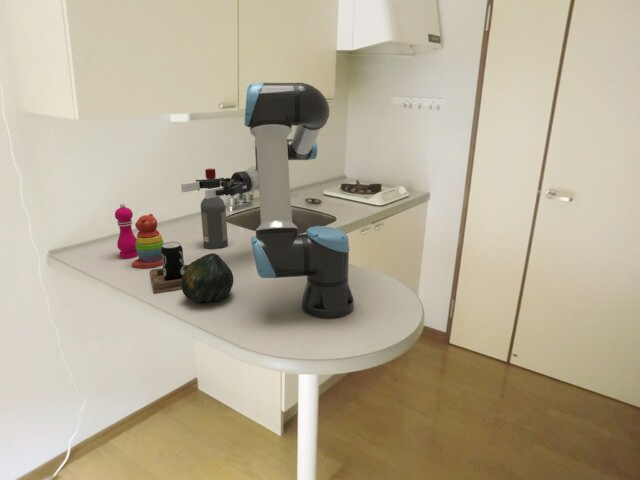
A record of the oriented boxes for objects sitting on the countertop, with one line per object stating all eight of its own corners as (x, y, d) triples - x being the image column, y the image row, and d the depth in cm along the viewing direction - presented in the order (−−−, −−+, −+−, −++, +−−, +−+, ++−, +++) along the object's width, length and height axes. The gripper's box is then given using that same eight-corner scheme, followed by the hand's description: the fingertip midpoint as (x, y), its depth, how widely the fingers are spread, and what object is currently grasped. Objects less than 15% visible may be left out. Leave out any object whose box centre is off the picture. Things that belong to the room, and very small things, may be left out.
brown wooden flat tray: (206, 285, 155) (206, 277, 154) (154, 293, 149) (153, 285, 148) (197, 266, 171) (197, 258, 170) (150, 272, 165) (149, 265, 164)
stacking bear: (148, 256, 180) (142, 210, 174) (172, 259, 177) (167, 212, 171) (129, 267, 170) (122, 218, 164) (154, 270, 167) (148, 220, 161)
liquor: (226, 240, 197) (221, 166, 187) (228, 247, 189) (223, 171, 179) (203, 242, 195) (197, 167, 185) (204, 249, 187) (198, 172, 177)
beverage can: (179, 284, 154) (175, 248, 150) (160, 282, 155) (156, 247, 152) (188, 276, 160) (185, 241, 156) (170, 274, 161) (167, 240, 158)
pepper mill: (122, 260, 176) (115, 207, 169) (116, 255, 181) (108, 203, 175) (142, 256, 180) (135, 203, 174) (135, 251, 185) (128, 200, 179)
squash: (168, 279, 146) (184, 251, 137) (209, 267, 157) (227, 241, 147) (189, 319, 142) (207, 293, 133) (230, 304, 153) (250, 279, 143)
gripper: (269, 197, 164) (217, 209, 149) (224, 187, 180) (173, 196, 165) (269, 175, 161) (215, 185, 147) (223, 167, 178) (171, 174, 163)
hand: (193, 191), depth 156 cm, fingers open, 13 cm apart
